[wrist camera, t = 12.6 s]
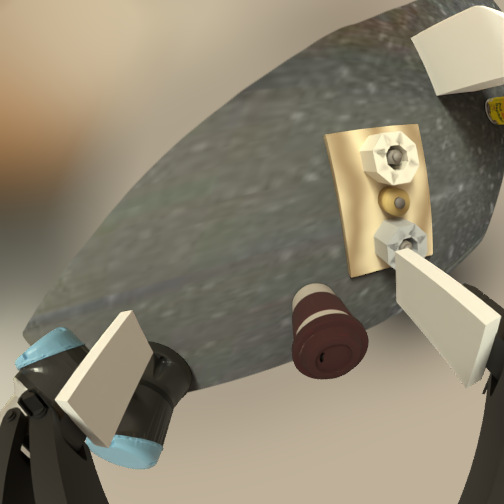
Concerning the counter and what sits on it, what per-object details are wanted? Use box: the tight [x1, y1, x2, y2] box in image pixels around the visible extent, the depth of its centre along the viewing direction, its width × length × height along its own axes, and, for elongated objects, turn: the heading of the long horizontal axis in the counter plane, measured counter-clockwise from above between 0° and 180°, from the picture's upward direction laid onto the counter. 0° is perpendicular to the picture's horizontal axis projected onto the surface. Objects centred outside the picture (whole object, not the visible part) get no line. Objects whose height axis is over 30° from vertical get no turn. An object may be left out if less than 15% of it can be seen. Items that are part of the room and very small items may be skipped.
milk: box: [411, 6, 504, 96], centre depth 18 cm, size 12×12×26 cm
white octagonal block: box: [359, 131, 419, 185], centre depth 33 cm, size 7×7×5 cm
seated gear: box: [374, 217, 427, 270], centre depth 37 cm, size 7×7×5 cm
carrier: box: [323, 124, 433, 278], centre depth 35 cm, size 16×22×7 cm
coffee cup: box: [292, 284, 368, 379], centre depth 37 cm, size 10×10×15 cm
